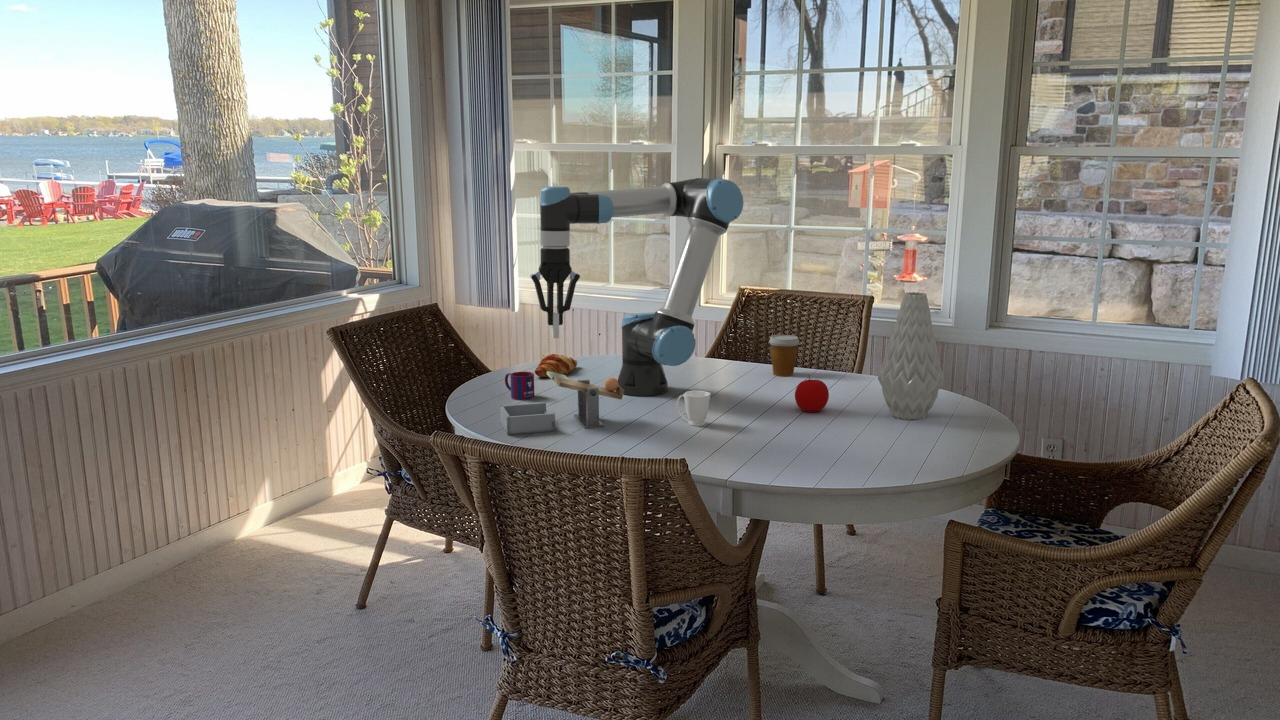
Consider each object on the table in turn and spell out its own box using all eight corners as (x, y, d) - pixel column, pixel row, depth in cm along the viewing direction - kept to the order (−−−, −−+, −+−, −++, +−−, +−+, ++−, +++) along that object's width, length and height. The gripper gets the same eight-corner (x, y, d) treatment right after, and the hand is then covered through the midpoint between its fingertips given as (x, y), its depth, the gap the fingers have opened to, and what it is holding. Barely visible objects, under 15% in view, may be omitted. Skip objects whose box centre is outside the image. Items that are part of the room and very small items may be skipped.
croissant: (569, 376, 317) (559, 354, 317) (591, 365, 311) (581, 343, 312) (530, 388, 299) (520, 365, 299) (553, 376, 293) (543, 353, 294)
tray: (545, 418, 252) (545, 402, 251) (555, 431, 240) (554, 413, 239) (500, 422, 248) (499, 405, 247) (507, 435, 237) (507, 417, 236)
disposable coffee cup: (800, 377, 298) (801, 339, 296) (769, 377, 298) (770, 339, 296) (796, 371, 308) (797, 334, 305) (766, 371, 308) (767, 334, 305)
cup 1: (521, 401, 270) (520, 377, 269) (499, 395, 277) (498, 372, 276) (539, 396, 275) (538, 373, 274) (517, 391, 282) (516, 368, 281)
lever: (607, 387, 260) (610, 378, 259) (621, 399, 247) (624, 390, 246) (546, 374, 254) (548, 364, 254) (557, 385, 241) (559, 376, 240)
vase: (872, 421, 249) (878, 296, 242) (879, 406, 264) (885, 288, 257) (939, 427, 243) (947, 299, 236) (943, 411, 258) (950, 290, 252)
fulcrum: (592, 415, 255) (591, 378, 253) (603, 426, 244) (603, 388, 242) (573, 416, 254) (573, 380, 252) (584, 428, 242) (583, 390, 240)
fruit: (803, 404, 266) (804, 369, 264) (833, 409, 261) (834, 373, 258) (788, 411, 258) (789, 375, 256) (819, 416, 253) (820, 380, 251)
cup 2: (700, 429, 242) (700, 398, 240) (668, 422, 248) (668, 392, 246) (715, 423, 247) (716, 392, 246) (684, 416, 253) (685, 387, 252)
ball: (614, 390, 251) (617, 377, 251) (618, 393, 248) (621, 380, 247) (601, 388, 250) (604, 374, 249) (605, 391, 247) (608, 377, 246)
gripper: (577, 246, 251) (576, 334, 256) (527, 246, 248) (528, 335, 252) (582, 248, 244) (582, 339, 249) (532, 248, 241) (532, 340, 245)
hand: (555, 337), depth 250 cm, fingers closed
